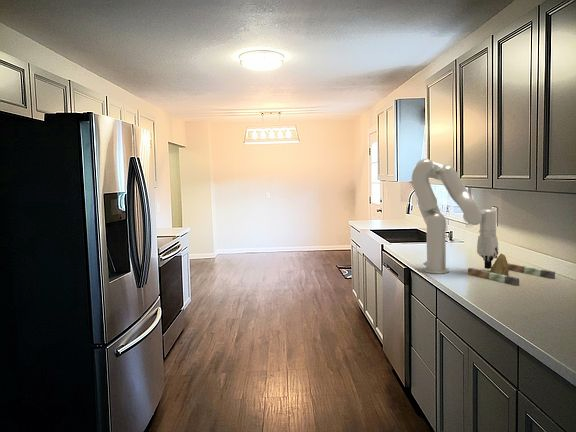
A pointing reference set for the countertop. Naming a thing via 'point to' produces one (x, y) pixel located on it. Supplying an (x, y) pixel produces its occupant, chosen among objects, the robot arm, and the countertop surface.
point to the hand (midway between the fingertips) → (488, 268)
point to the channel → (507, 278)
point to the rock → (500, 265)
